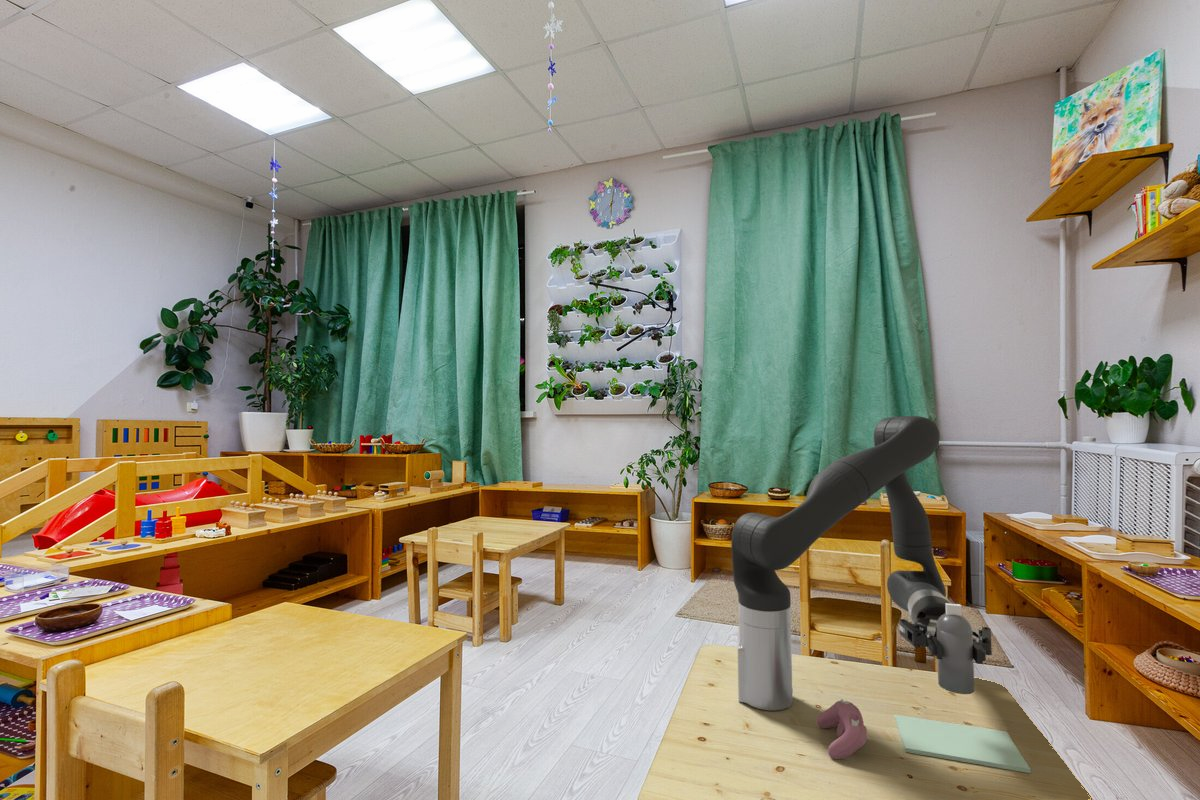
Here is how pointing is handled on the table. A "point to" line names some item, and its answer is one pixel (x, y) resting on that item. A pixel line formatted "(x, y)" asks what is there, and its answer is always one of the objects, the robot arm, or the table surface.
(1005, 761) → the mat
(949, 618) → the grey bottle
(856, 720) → the mauve curved piece
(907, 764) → the table surface
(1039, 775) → the table surface
